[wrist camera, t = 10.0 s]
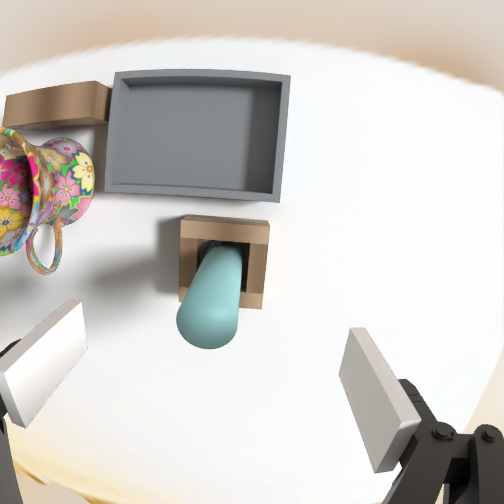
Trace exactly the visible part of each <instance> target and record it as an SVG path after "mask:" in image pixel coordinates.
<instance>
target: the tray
mask: <svg viewBox="0 0 504 504" xmlns="http://www.w3.org/2000/svg"><path fill="white" fill-rule="evenodd" d="M290 79H291V76H290V75H282V74H272V73H262V72H250V71H235V70H213V69H161V70H139V71H125V72H115V77H114V84H113V91H112V99H111V107H110V116H109V125H108V136H107V149H106V165H105V189H104V192H123V193H147V194H167V195H185V196H201V197H216V198H229V199H242V200H254V201H265V202H276V203H280V193H281V183H282V172H283V161H284V150H285V139H286V128H287V116H288V104H289V92H290Z"/></svg>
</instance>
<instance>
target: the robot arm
mask: <svg viewBox="0 0 504 504" xmlns="http://www.w3.org/2000/svg"><path fill="white" fill-rule="evenodd" d="M87 349H88V345H87V339H86V332H85V325H84V318H83V310H82V302H81V301H75V300H68V301H67V302H66V303H64V304H63V305H62V306H61V307H59V308H58V309H57V310H56V311H55V312H53V313H52V314H51V315H50V316H48V317H47V318H46V319H45V320H44V321H43V322H41V323H40V324H39V325H38V326H37V327H35V328H34V329H33V330H32V331H31V332H30V333H28V334H27V335H26V336H25V337H24V338H23V339H19V340H17V341H15V342H13V343H11V344H10V345H8V346H7V347H6V348H5V350H3V351H2V352H0V504H23V501H22V498H21V494H20V491H19V487H18V483H17V479H16V475H15V470H14V466H13V461H12V456H11V451H10V446H9V440H8V434H7V427H6V422H5V420H4V418H3V417H4V415H5V414H6V413H7V412H8V414H9V416H10V419H11V421H12V423H14V424H17V425H19V426H21V427H24V428H27V426H28V425H29V424H30V422H31V421H32V420H33V418H34V417H35V416H36V414H37V413H38V412H39V410H40V409H41V408H42V406H43V405H44V404H45V402H46V401H47V400H48V398H49V397H50V396H51V395H52V393H53V392H54V391H55V389H56V388H57V387H58V386H59V384H60V383H61V382H62V380H63V379H64V378H65V377H66V375H67V374H68V373H69V372H70V370H71V369H72V368H73V367H74V365H75V364H76V363H77V362H78V360H79V359H80V358H81V357H82V355H83V354H84V353H85V352H86V351H87ZM339 377H340V379H341V382H342V385H343V387H344V390H345V393H346V395H347V398H348V401H349V403H350V406H351V409H352V412H353V414H354V417H355V420H356V422H357V425H358V428H359V431H360V433H361V436H362V439H363V442H364V445H365V447H366V450H367V453H368V456H369V459H370V462H371V465H372V467H373V470H374V473H381V472H388V471H393V470H394V468H395V467H396V465H397V463H398V462H400V464H401V467H402V469H401V471H400V473H399V474H398V476H397V477H396V479H395V480H394V482H393V483H392V487H391V489H390V490H389V492H388V494H387V496H386V497H385V499H384V501H383V502H382V504H435V502H436V500H437V497H438V495H439V492H440V490H441V487H442V484H444V495H443V504H504V438H503V435H502V433H501V432H500V430H498V428H496V427H494V426H492V425H488V424H484V425H483V424H482V425H480V426H478V427H477V429H476V430H475V431H474V433H473V434H457V432H456V430H455V429H454V428H453V427H452V426H451V425H449V424H447V423H444V422H438V421H437V420H436V418H435V416H434V415H433V413H432V412H431V410H430V409H429V407H428V406H427V404H426V402H425V401H424V399H423V398H422V396H421V395H420V393H419V392H418V390H417V389H416V387H415V386H414V385H413V384H412V383H410V382H409V381H408V380H407V379H397V378H396V376H395V375H394V373H393V371H392V370H391V368H390V366H389V365H388V363H387V362H386V360H385V358H384V357H383V355H382V354H381V352H380V351H379V349H378V347H377V346H376V344H375V343H374V341H373V340H372V338H371V336H370V335H369V333H368V332H367V330H366V329H365V328H350V331H349V335H348V339H347V343H346V348H345V352H344V356H343V359H342V363H341V367H340V371H339Z"/></svg>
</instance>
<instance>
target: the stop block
mask: <svg viewBox="0 0 504 504" xmlns="http://www.w3.org/2000/svg"><path fill="white" fill-rule="evenodd" d="M112 91H113V89H111V88H109V87H107V86H105V85H103V84H101V83H99V82H97V81H87V82H79V83H72V84H65V85H59V86H53V87H47V88H41V89H36V90H31V91H26V92H22V93H17V94H13V95H8V96H6V103H5V110H4V119H3V127H6V128H14V129H26V130H38V129H47V128H57V127H68V126H80V125H96V124H109V116H110V107H111V99H112Z"/></svg>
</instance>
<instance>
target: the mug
mask: <svg viewBox="0 0 504 504" xmlns="http://www.w3.org/2000/svg"><path fill="white" fill-rule="evenodd" d="M94 189H95V171H94V167H93V163H92V160H91V158H90V156H89V154H88V153H87V151H86V150H85V149H84V148H83V146H81V145H80V144H79V143H78V142H76V141H74V140H72V139H69V138H55V139H52V140H50V141H48V142H46V143H44V144H43V145H42V146H35V145H32V144H30V143H28V142H27V141H26V140H25V139H24V138H23V137H22V136H21V135H20V134H18V133H17V132H16V131H14V130H12V129H10V128H6V127H0V256H6V255H9V254H11V253H14V252H15V251H17V250H18V249H19V248H20V247H21V246H22V245H23V244H24V243H25V242H26V252H27V256H28V259H29V261H30V263H31V265H32V266H33V268H34V269H35V270H36V271H37V272H39V273H40V274H43V275H49V274H51V273H53V272H54V271H55V270H56V269H57V267H58V265H59V263H60V259H61V254H62V232H61V227H64V226H65V225H68V224H71V223H73V222H75V221H76V220H78V219H79V218H80V217H81V216H82V215H83V214H84V213H85V211H86V210H87V208H88V207H89V205H90V203H91V200H92V197H93V194H94ZM45 222H46V223H48V224H51V225H54V233H55V256H54V260H53V263H52V266H51V267H50V269H48V268H45V267H44V266H43V265H42V264H41V263H40V262H39V261H38V259H37V257H36V255H35V252H34V248H33V238H34V235H35V234H36V232H37V231H38V228H36V227H37V226H38V225H40V224H42V223H45ZM35 228H36V229H35Z"/></svg>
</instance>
